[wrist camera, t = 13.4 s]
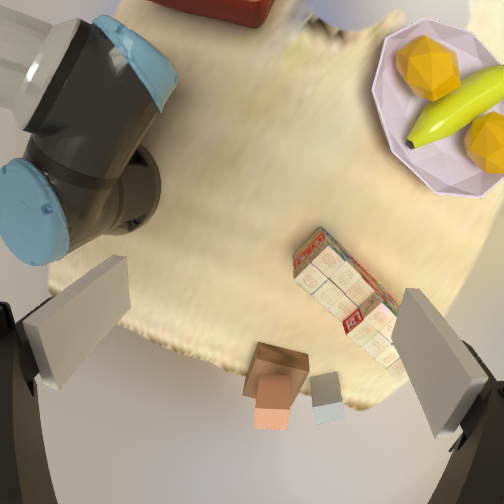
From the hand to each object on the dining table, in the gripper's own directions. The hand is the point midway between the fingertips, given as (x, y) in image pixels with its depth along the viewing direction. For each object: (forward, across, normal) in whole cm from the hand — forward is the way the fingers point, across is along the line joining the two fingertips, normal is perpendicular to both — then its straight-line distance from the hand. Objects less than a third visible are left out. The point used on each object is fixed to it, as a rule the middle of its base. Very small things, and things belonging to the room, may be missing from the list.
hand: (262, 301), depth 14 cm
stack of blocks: (+32, +13, -12) cm, 37 cm away
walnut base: (+32, +3, -30) cm, 44 cm away
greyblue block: (+32, +13, -33) cm, 48 cm away
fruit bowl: (+32, +25, +18) cm, 44 cm away
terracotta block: (+27, +3, -30) cm, 41 cm away
